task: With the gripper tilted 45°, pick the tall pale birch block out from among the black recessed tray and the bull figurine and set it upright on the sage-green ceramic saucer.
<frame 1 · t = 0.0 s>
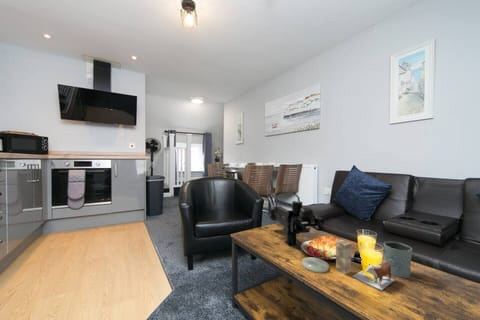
hand: (317, 230, 95), 17 cm above the table, tool horizontal, fingers open, 9 cm apart
grey green pot: (397, 272, 88), on the table
birch block: (343, 270, 89), on the table
saucer: (315, 265, 93), on the table
bull figurine: (379, 283, 80), on the table
black recessed tray: (359, 263, 97), on the table
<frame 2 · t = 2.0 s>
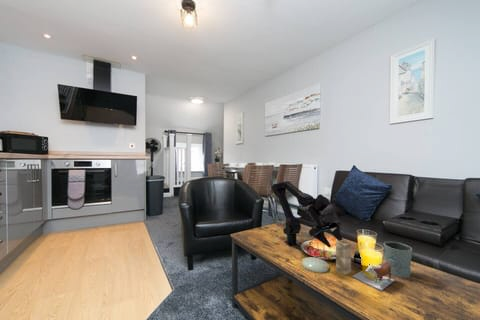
hand: (336, 245, 92), 10 cm above the table, tool tilted 45°, fingers open, 9 cm apart
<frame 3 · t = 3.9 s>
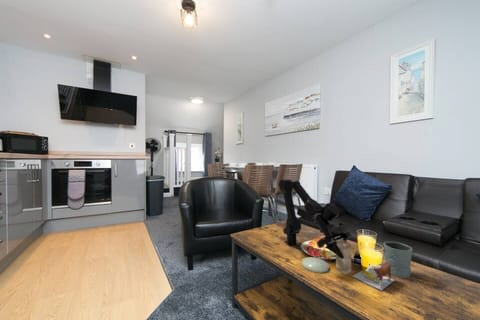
hand: (346, 257, 88), 7 cm above the table, tool tilted 45°, fingers closed on birch block, 4 cm apart
birch block: (343, 270, 89), on the table, touching gripper
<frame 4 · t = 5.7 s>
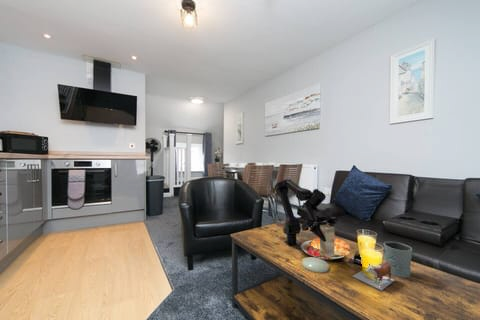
hand: (329, 240, 90), 13 cm above the table, tool tilted 45°, fingers closed on birch block, 4 cm apart
birch block: (327, 254, 91), point 7 cm above the table, touching gripper
when the fingers open (9 cm above the table, at t = 7.6 s): birch block drops 1 cm, resting on saucer.
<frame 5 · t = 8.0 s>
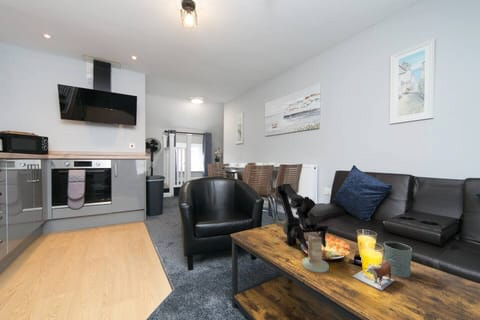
hand: (316, 247, 92), 9 cm above the table, tool tilted 45°, fingers open, 9 cm apart
birch block: (315, 263, 93), point 1 cm above the table, touching saucer
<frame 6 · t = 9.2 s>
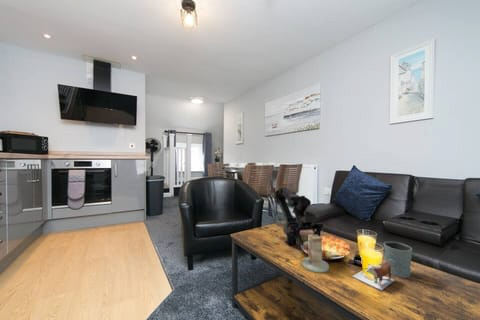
hand: (311, 244, 96), 9 cm above the table, tool tilted 45°, fingers open, 9 cm apart
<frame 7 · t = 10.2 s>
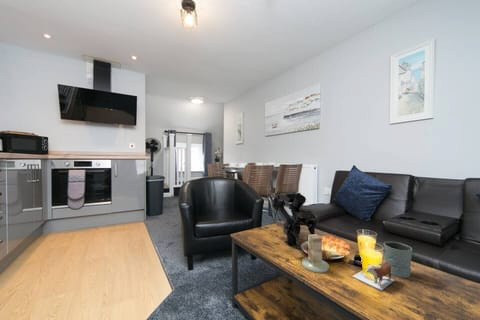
hand: (306, 239, 102), 10 cm above the table, tool tilted 45°, fingers open, 9 cm apart
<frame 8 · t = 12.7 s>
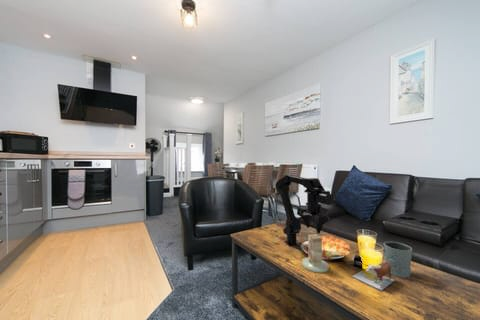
hand: (313, 230, 105), 13 cm above the table, tool pointing down, fingers open, 9 cm apart
at the end: birch block inside the target area on the saucer (0.0 cm from its centre), point 1.2 cm above the saucer's base; birch block tilted 0°; the gripper is holding nothing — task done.
